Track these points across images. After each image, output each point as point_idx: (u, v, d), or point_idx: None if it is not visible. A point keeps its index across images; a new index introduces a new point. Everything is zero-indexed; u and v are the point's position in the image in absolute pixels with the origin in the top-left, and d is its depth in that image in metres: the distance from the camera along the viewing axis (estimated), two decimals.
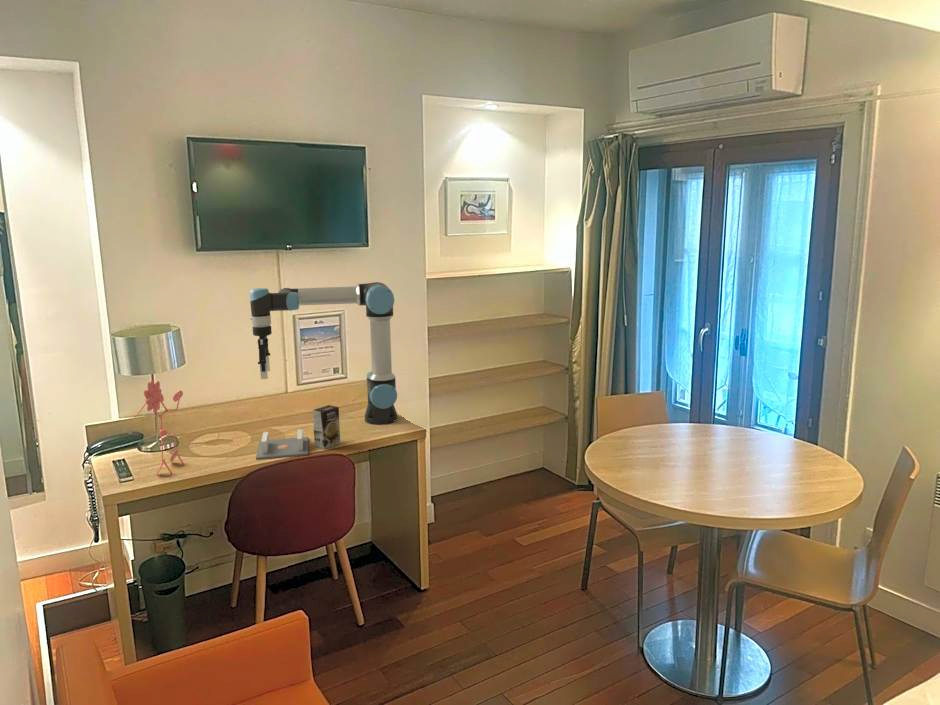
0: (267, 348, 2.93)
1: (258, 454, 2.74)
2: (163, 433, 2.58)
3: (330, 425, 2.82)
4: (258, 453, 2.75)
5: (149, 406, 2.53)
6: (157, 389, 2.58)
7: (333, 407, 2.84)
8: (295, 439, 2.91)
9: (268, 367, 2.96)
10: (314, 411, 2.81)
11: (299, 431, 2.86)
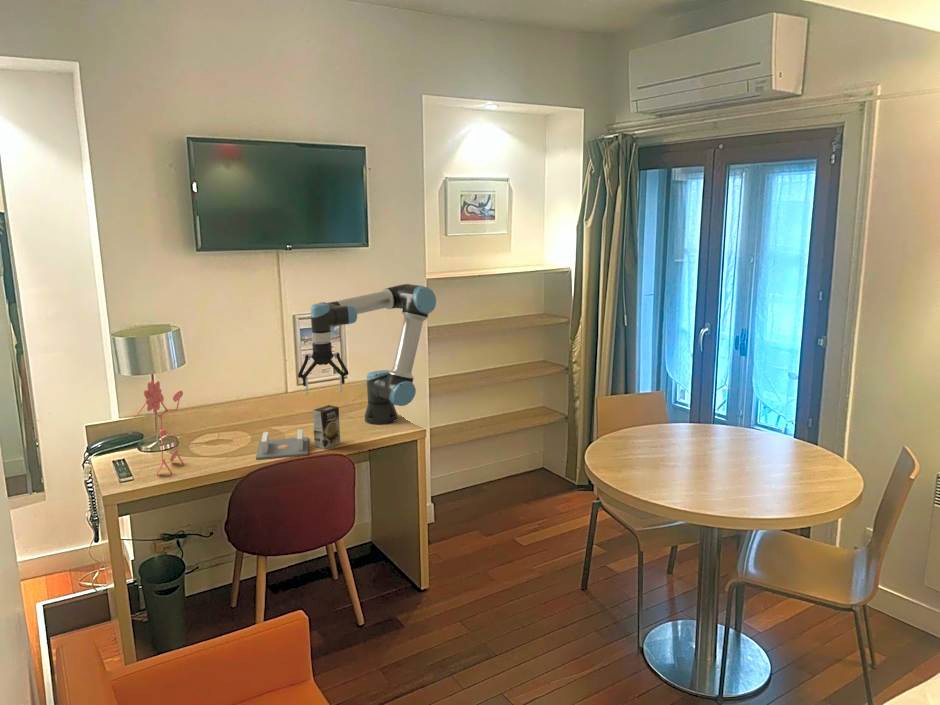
0: (335, 368, 2.79)
1: (258, 454, 2.74)
2: (163, 433, 2.58)
3: (330, 425, 2.82)
4: (258, 453, 2.75)
5: (149, 406, 2.53)
6: (157, 389, 2.58)
7: (333, 407, 2.84)
8: (295, 439, 2.91)
9: (340, 388, 2.82)
10: (314, 411, 2.81)
11: (299, 431, 2.86)
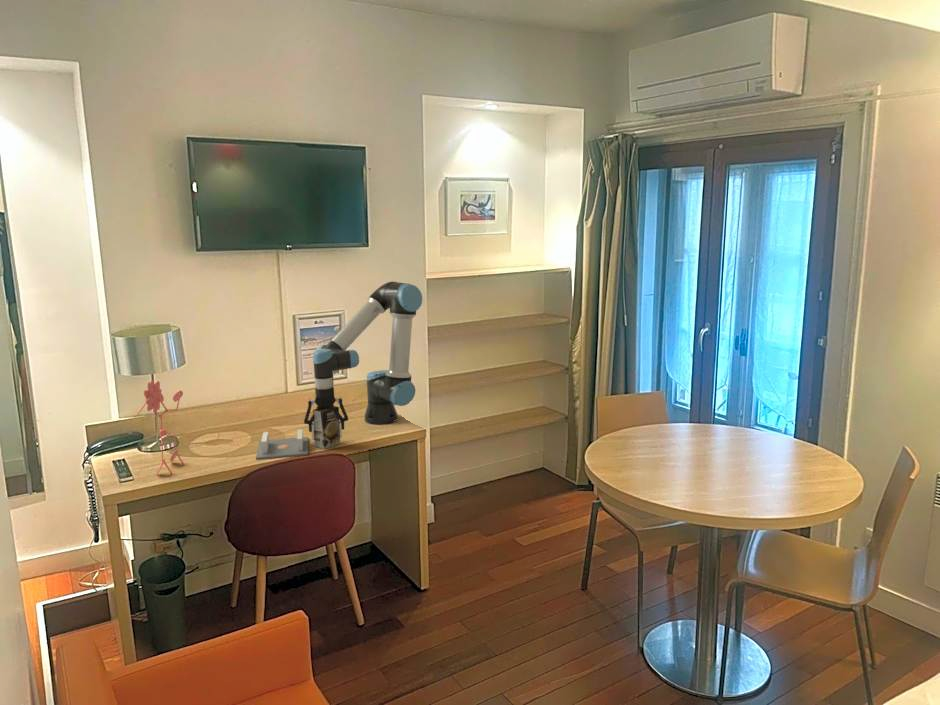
0: (336, 413, 2.83)
1: (258, 454, 2.74)
2: (163, 433, 2.58)
3: (330, 425, 2.82)
4: (258, 453, 2.75)
5: (149, 406, 2.53)
6: (157, 389, 2.58)
7: None
8: (295, 439, 2.91)
9: None
10: (314, 411, 2.81)
11: (299, 431, 2.86)
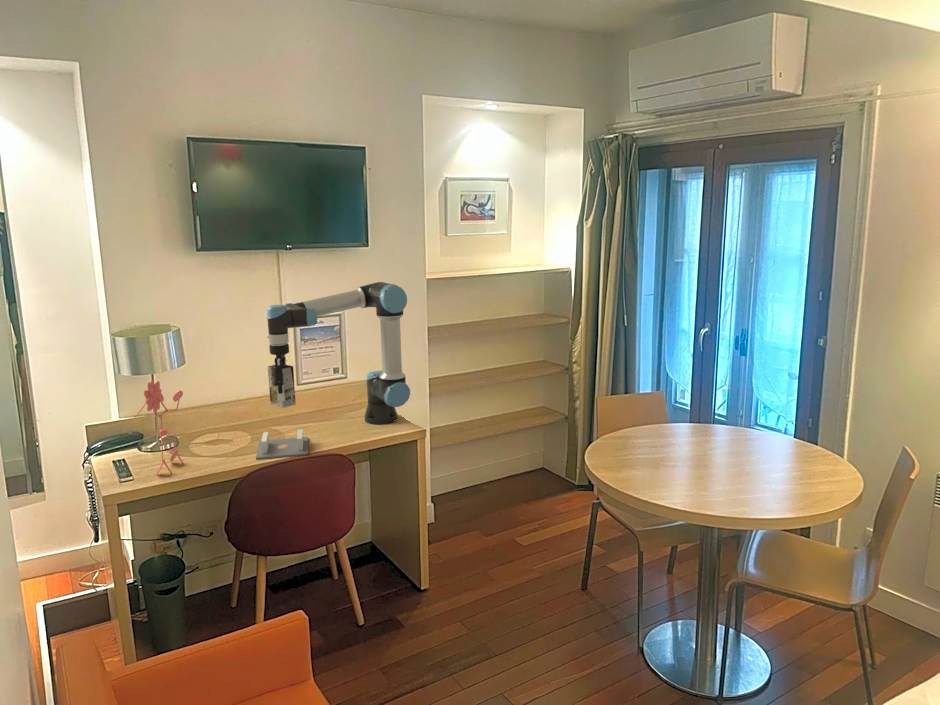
0: None
1: (258, 454, 2.74)
2: (163, 433, 2.58)
3: None
4: (258, 453, 2.75)
5: (149, 406, 2.53)
6: (157, 389, 2.58)
7: None
8: (295, 439, 2.91)
9: None
10: (283, 370, 2.71)
11: (299, 431, 2.86)
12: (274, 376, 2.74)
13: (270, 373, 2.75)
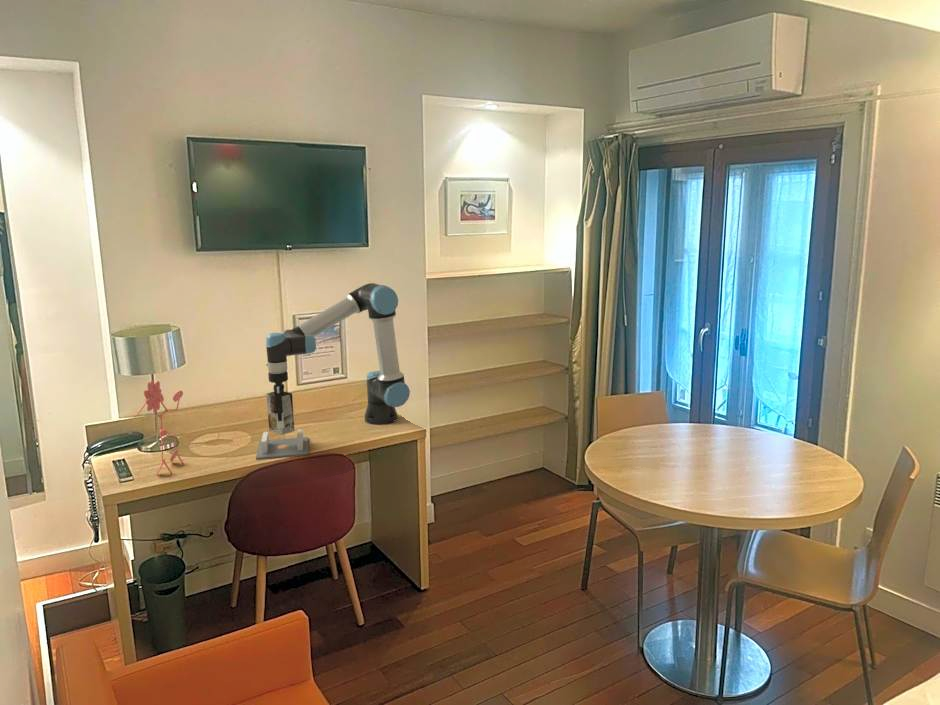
0: None
1: (258, 454, 2.74)
2: (163, 433, 2.58)
3: None
4: (258, 453, 2.75)
5: (149, 406, 2.53)
6: (157, 389, 2.58)
7: None
8: (295, 439, 2.91)
9: None
10: (282, 397, 2.74)
11: (299, 431, 2.86)
12: (273, 403, 2.76)
13: (269, 400, 2.77)
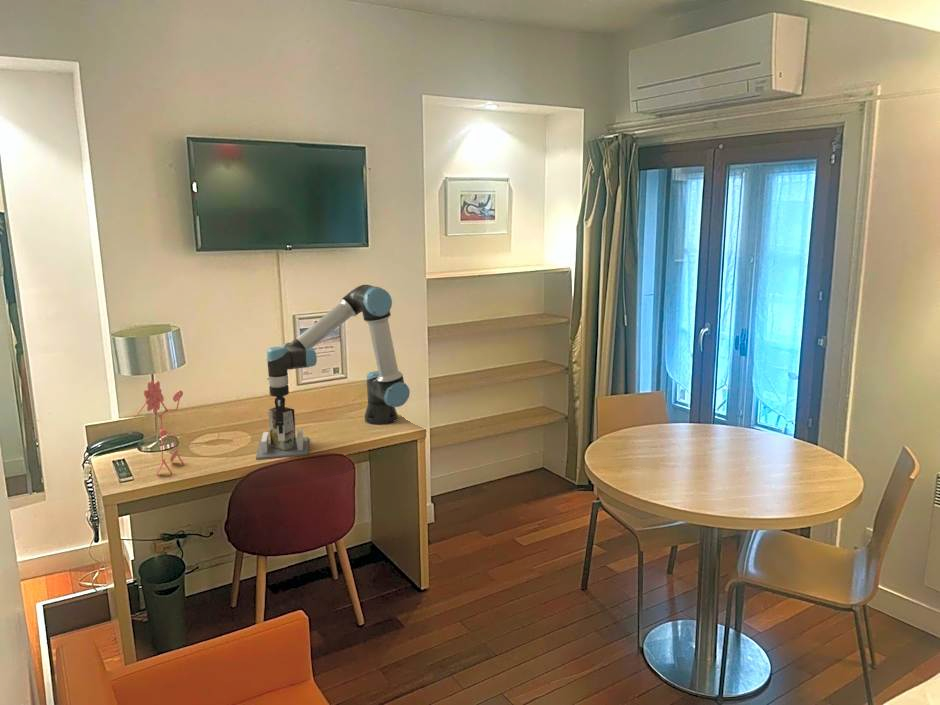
0: None
1: (258, 454, 2.74)
2: (163, 433, 2.58)
3: None
4: (258, 453, 2.75)
5: (149, 406, 2.53)
6: (157, 389, 2.58)
7: None
8: None
9: None
10: (284, 413, 2.76)
11: (299, 431, 2.86)
12: (275, 419, 2.78)
13: (271, 416, 2.79)
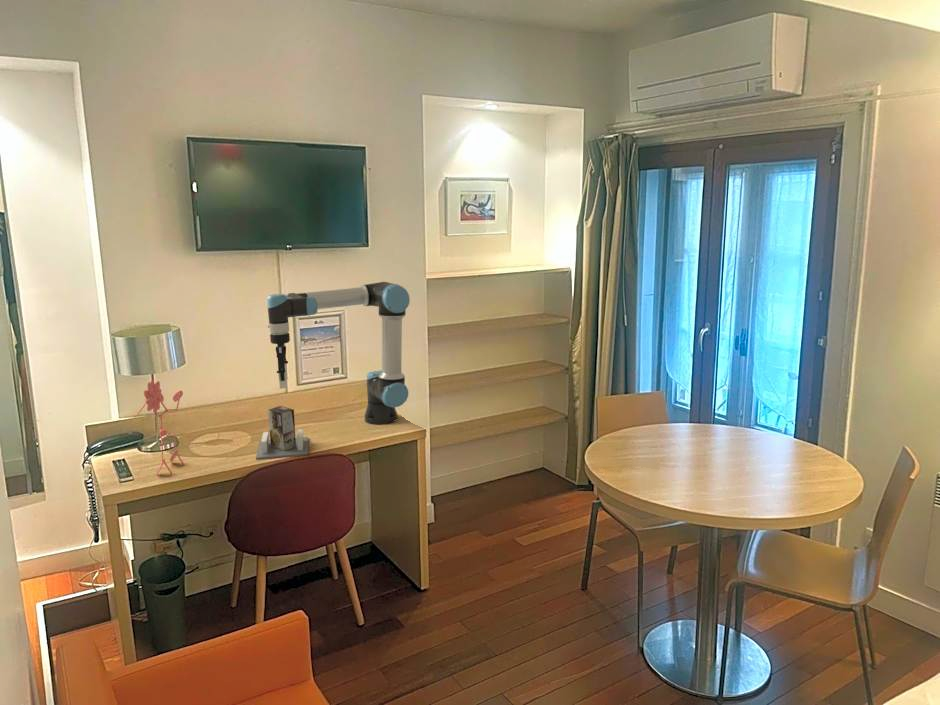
0: None
1: (258, 454, 2.74)
2: (163, 433, 2.58)
3: None
4: (258, 453, 2.75)
5: (149, 406, 2.53)
6: (157, 389, 2.58)
7: (279, 407, 2.82)
8: None
9: (286, 375, 2.86)
10: (284, 413, 2.75)
11: (299, 431, 2.86)
12: (275, 419, 2.78)
13: (271, 416, 2.79)
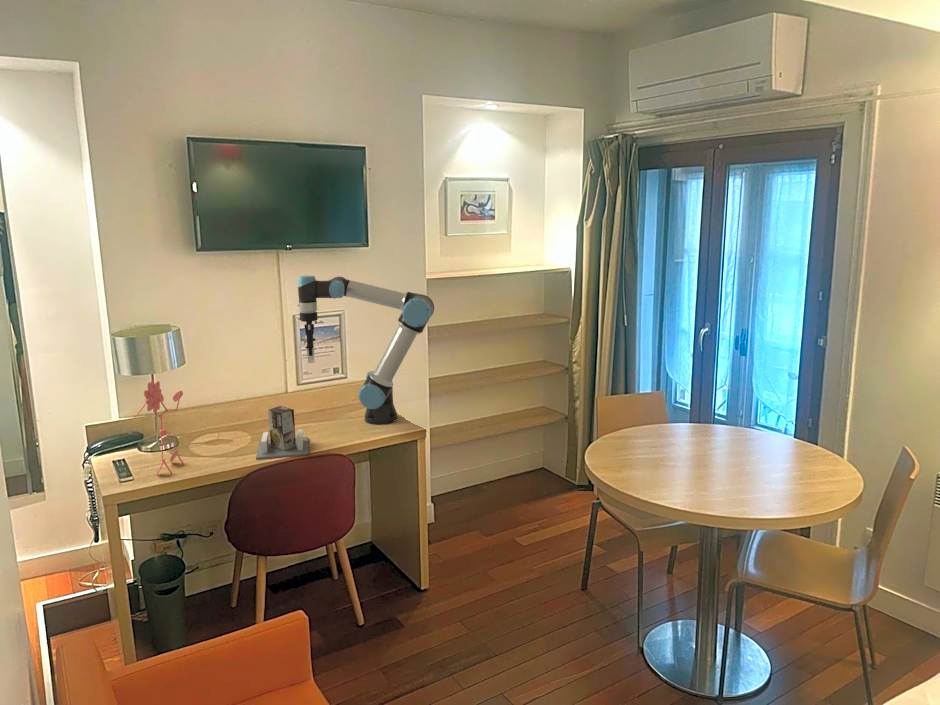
0: None
1: (258, 454, 2.74)
2: (163, 433, 2.58)
3: None
4: (258, 453, 2.75)
5: (149, 406, 2.53)
6: (157, 389, 2.58)
7: (279, 407, 2.82)
8: None
9: None
10: (283, 414, 2.75)
11: (299, 431, 2.86)
12: (275, 419, 2.77)
13: (271, 416, 2.79)
